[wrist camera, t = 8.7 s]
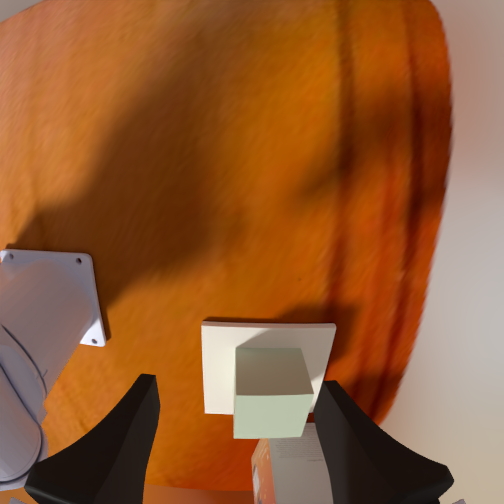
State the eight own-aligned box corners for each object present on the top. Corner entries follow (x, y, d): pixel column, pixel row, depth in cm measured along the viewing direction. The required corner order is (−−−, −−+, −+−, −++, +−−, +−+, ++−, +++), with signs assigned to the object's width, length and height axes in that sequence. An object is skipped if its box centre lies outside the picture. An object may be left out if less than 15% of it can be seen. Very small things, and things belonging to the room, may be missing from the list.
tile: (205, 408, 25) (205, 413, 25) (202, 321, 22) (201, 325, 21) (311, 407, 26) (312, 412, 26) (334, 323, 23) (336, 327, 22)
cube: (233, 392, 24) (233, 438, 19) (235, 347, 22) (236, 395, 18) (291, 391, 24) (301, 436, 20) (300, 348, 23) (314, 393, 18)
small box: (266, 419, 26) (277, 513, 17) (319, 421, 27) (342, 507, 17) (249, 458, 29) (254, 536, 19) (296, 459, 30) (309, 533, 20)
